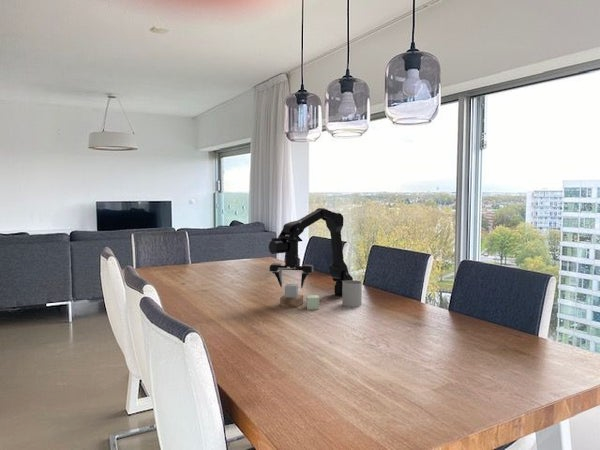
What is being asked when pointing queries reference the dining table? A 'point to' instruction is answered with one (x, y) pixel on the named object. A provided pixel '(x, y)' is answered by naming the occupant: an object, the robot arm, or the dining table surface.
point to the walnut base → (291, 301)
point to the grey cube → (291, 290)
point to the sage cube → (312, 302)
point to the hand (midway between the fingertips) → (291, 287)
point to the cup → (352, 293)
